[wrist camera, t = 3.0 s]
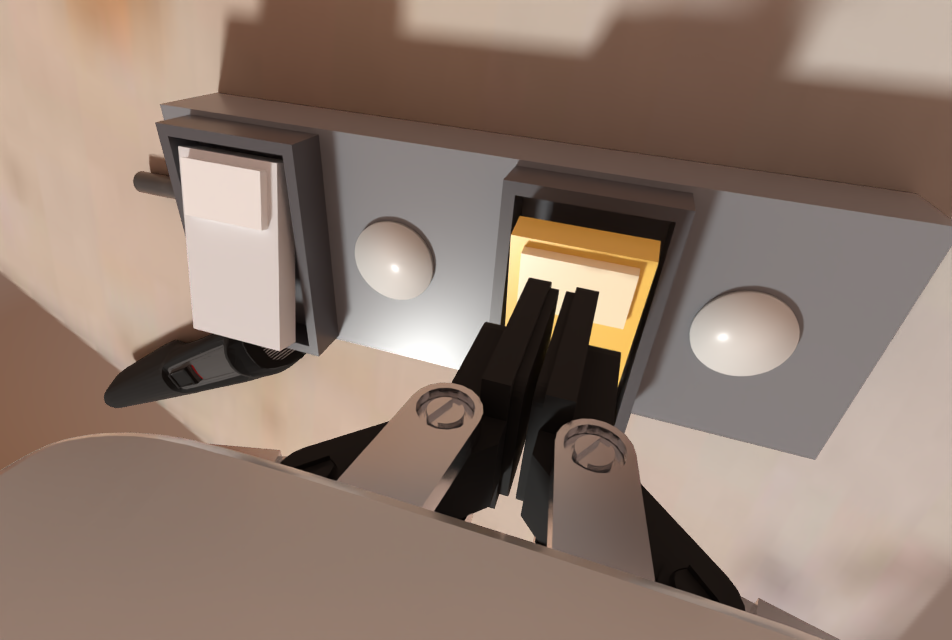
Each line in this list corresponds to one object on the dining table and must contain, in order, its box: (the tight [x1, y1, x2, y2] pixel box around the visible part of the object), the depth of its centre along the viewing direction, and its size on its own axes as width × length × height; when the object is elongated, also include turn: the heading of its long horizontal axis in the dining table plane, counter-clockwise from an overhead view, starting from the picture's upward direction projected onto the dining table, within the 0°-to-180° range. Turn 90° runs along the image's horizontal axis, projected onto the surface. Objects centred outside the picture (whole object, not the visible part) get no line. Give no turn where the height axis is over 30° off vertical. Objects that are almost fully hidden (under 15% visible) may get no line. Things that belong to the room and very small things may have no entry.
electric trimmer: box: [104, 334, 306, 408], centre depth 30 cm, size 4×16×3 cm, turn 117°
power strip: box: [133, 93, 952, 460], centre depth 20 cm, size 9×31×5 cm, turn 86°
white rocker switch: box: [178, 146, 296, 351], centre depth 19 cm, size 7×4×1 cm, turn 176°
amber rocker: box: [505, 216, 661, 385], centre depth 16 cm, size 7×4×1 cm, turn 176°
